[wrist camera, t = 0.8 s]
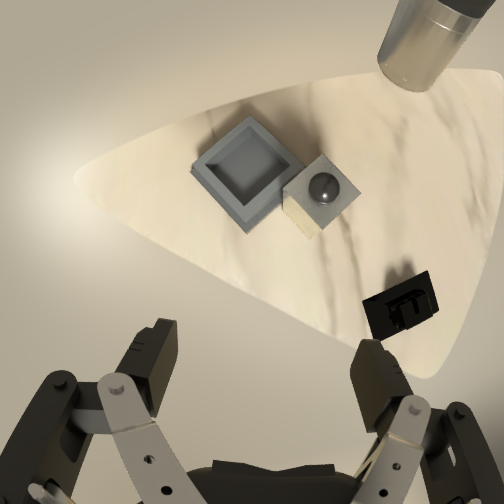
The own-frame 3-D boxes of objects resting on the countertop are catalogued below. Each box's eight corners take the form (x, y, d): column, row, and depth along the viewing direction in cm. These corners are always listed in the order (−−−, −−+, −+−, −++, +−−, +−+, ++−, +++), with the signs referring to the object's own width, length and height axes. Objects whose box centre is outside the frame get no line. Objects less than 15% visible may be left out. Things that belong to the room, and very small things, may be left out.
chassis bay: (253, 121, 33) (250, 107, 30) (311, 176, 32) (314, 166, 29) (191, 173, 34) (182, 164, 30) (246, 234, 33) (242, 230, 29)
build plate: (432, 259, 31) (451, 258, 26) (447, 312, 30) (465, 317, 26) (347, 299, 32) (356, 304, 27) (364, 354, 31) (376, 366, 27)
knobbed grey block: (311, 185, 32) (324, 148, 21) (338, 213, 32) (364, 190, 21) (282, 210, 33) (283, 184, 22) (309, 240, 32) (324, 228, 21)
